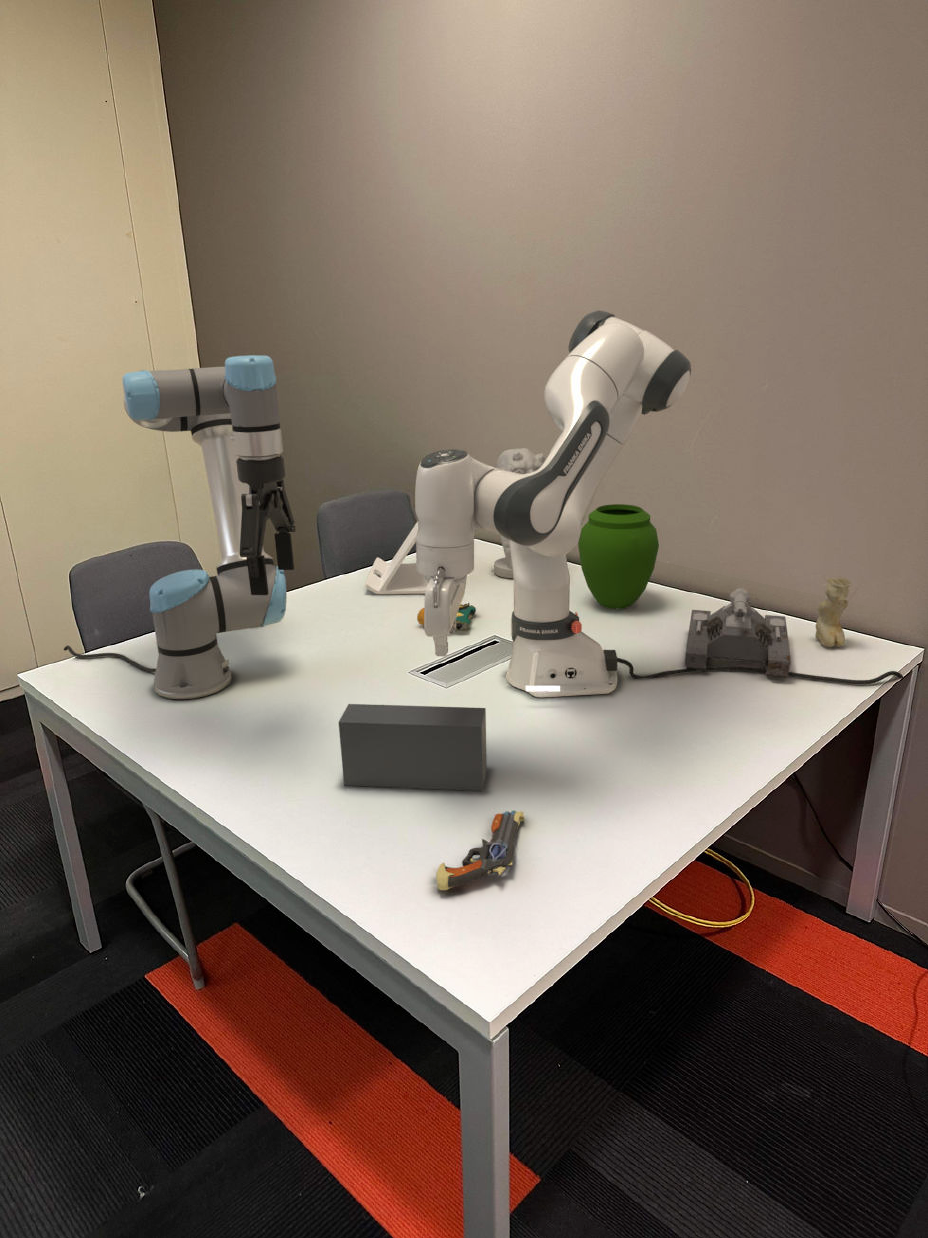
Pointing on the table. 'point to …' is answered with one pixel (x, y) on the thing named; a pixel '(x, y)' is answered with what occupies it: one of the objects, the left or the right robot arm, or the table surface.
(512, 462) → the bust sculpture
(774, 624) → the toy
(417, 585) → the tablet stand
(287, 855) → the table surface
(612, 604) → the vase
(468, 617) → the spray gun
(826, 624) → the sculpture
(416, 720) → the box
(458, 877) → the toy gun
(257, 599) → the left robot arm
